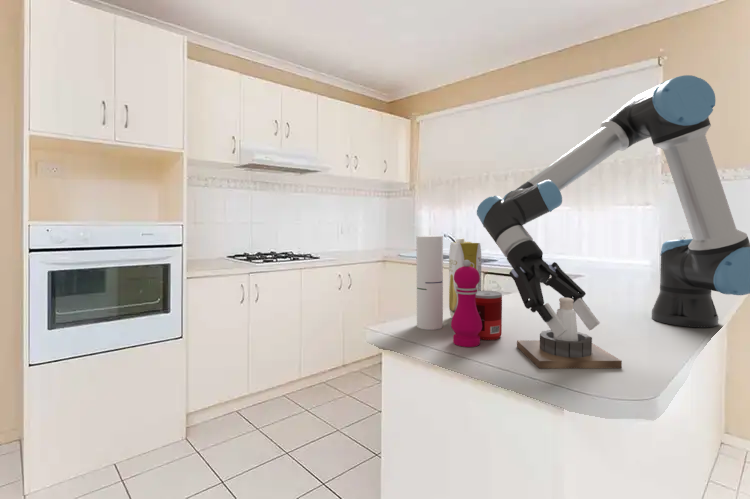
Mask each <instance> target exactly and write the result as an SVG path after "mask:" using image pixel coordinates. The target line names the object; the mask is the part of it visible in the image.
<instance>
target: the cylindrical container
mask: <svg viewBox="0 0 750 499" xmlns="http://www.w3.org/2000/svg"><path fill="white" fill-rule="evenodd" d="M443 281H444V236H443V235H431V234H430V235H416V328H418V329H421V330H430V331H431V330H432V331H433V330H434V331H435V330H440V329H442V328H443V327H444V324H443V323H444V319H443V318H444V303H443V302H444V296H443V295H444V282H443Z"/></svg>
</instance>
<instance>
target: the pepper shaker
mask: <svg viewBox="0 0 750 499" xmlns="http://www.w3.org/2000/svg"><path fill="white" fill-rule="evenodd" d="M558 300H559V308H557V310H556V312H555V313H556V315H557V316H558V318H559V319H560V320H561V322H562V323H563V325H564V326H565V327H566V329H567V331H566V332H564V333H563V334H562V335H561V336H560V337H557V338H556V336H555V335H554V336H553V339H557V340H564V341H578V334H577V332H578V323H577V315H576V314H577V313H576V312H575V310H574V309H573V302H574V300H573V299H571V298H565V297H561V298H559V299H558Z"/></svg>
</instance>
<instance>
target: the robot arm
mask: <svg viewBox="0 0 750 499" xmlns="http://www.w3.org/2000/svg"><path fill="white" fill-rule="evenodd" d="M716 100H717V99H716V93H715V91H714V89H713V88H712V86H711V84H709V83H708V82H707V81H706V80H705V79H703V78H701V77H698V76H695V75H689V74H684V75H680V76H676V77H673V78H670V79H667V80H665V81H663V82H661V83H660V84H657V85H656V86H654V87H652V88H650V89H648V90H646V91H643V92H641V93H639V94H637V95H636V96H635V97H633V98H632V99H630V100H629V101H628V102H626V103H625V104H624V105H623V106H621V108H620V109H618V110H617V111H616V112H615V113H613V114H612V115H611V116H609V117H607V119H606V120H604V121H602V122H601V124H600V129H598V130H597V131H595V132H593V134H591V135H590V136H588V137H587V138H586V139H584V140H583V141H581V142H580V143H579V144H577V145H576V146H575V147H573V148H571V149H570V150H569V151H568V152H566V153H565V154H562V156H560V157H558V159H556V160H554V161H553V162H552V163H551V164H549V165H548V166H546V167H545V168H543V169H542V170H541V171H539V172H538V173H537V174H535V175H534V176H532V177H531V178H530V179H529V180H528V179H527V181H526V182H524V183H523V184H521V185H520V186H519V187H516V189H514V190H510V191H509V192H508V193H506V194H505V195H504V196H503V198H502V197H501V196H500V195H493V196H488V197H486V198H484V199H483V200H482V201H481V202H480V203H479V205H478V206H477V209H476V216H477V217H478V219H479V221H480V222H481V225H482V226H483V228H485V230H486V232H488V234H489V235H490V237H491V238H492V240H493V241H494V243H495V244H496V246H497V247H498V248H499V250H500V251H501V254H503V255H504V257H505V258H506V261H507V262H508V263H509V265H510V266H511V268H512V269H511V270H510V271H509V273H508V274H509V276H510V277H511V278H512V280H513V281H514V283H515V286H516V288H517V290H518V293H519V296H520V297H521V298H520V299H521V300H522V303H523V305H524V307H525V308H526V309H527V310H530V312H531V313H536V312H537V313H538V315H539V316H540V318H541V319H542V320H543V322H544V323H546V325H547V326H548V328H549V330H551V331H552V332H553V333H554V335H555V336H556V338H557V337H560V336H561V335H562V334H563V333H564V332H566V331H567V329H566V327H565V326H564V325H563V323H562V322H561V320H560V319H559V318H558V316H557V315H556V313H557V312H555V310H554V309H553V307H552V306H551V305H550V304H549V302H547V303H545V300H544V296H543V295H544V294H543V291H542V287H541V283H542V284H544V285H545V286H548V287H551V288H552V289H553V290H554V291H556V292H557V293H558V294H560V295H561V296H562V298H571V299H573V300H574V302H573V310H575V313H576V314H577V315H576V316H578V318H579V319H580V320H581V321H582V323H583V325H585V327H586V328H587V330H589V331H592V330H593V329H594V328H596V327H597V326H599V325H600V324H601V322H600V321H599V320H598V318H597V316H595V314H594V313H593V312H592V310H591V309H590V307H589V306H588V305H587V303H586V302H585V301H584V300H583V298H584V296H586V291H585V290H584V289H582V287H580V286H579V285H578V284H577V283H576V282H575V281H574V280H573V279H572V278H571V277H570V276H569V275H568V274H567V273H565V271H564V270H562V269H561V267H560V266H559V264H558V263H557V262H555V261H554V262H552V264H548V263H547V262H546V261H545V260H544V259H543V254H544V253H543V250H542V249H541V247H539V245H538V243H537V242H536V241H535V240H534V239H533V237H532V236H531V235H530V233H529V232H528V231H527V229H526V228H525V227H524V225H526V224H527V223H529V222H532V221H533V220H536V219H537V218H540V217H542V216H544V215H546V214H548V213H551V212H552V211H553V210H554V211H555V209H557V208H559V207H560V206H561V205H562V203H563V196H562V192H561V191H562V190H564V189H565V188H567V187H568V186H570V184H572V183H573V182H575V181H577V180H578V179H579V178H581V177H582V176H583V175H585V174H586V173H588V172H589V171H591V170H592V169H593V168H595V167H596V166H598V165H600V164H601V163H602V162H604V161H605V160H606V159H608V158H609V157H610V156H612V155H613V154H615V153H616V152H618V151H621V152H622V151H626V150H628V148H631V146H633V145H635V144H636V143H637V144H638V143H639V142H641V141H643V140H647V139H649V138H650V139H651V142H652V144H653V146H654V147H657V148H659V149H661V150H662V151H663V153H664V157H665V160H666V163H667V166H668V169H669V171H670V174H671V178H672V181H673V183H674V186H675V190H676V193H677V194H678V195H677V196H678V198H679V201H680V203H681V206H682V209H683V212H684V216H685V218H686V222H687V224H688V228H689V231H690V233H691V237H692V238H684V239H671V240H666V241H664V242H663V244H662V245H661V250H660V254H659V255H660V271H659V272H660V273H659V274H660V276H659V277H660V278H659V294H658V295H657V298H656V300H655V302H654V304H653V308H652V310H651V319H652V320H654V321H656V322H659V323H662V324H663V323H664V324H667V325H671V326H679V327H687V328H688V327H689V328H714V327H718V326H719V315H718V312H717V308H716V307H715V304H714V301H713V299H712V291H713V292H718V293H720V294H723V295H733V296H745V295H749V294H750V240H749V237H748V234H747V233H746V232H744V231H741V230H739V229H737V226H736V224H735V220H734V217H733V215H732V212H731V209H730V205H729V203H728V200H727V196H726V194H725V191H724V187H723V184H722V181H721V178H720V175H719V172H718V168H717V166H716V164H715V160H714V157H713V153H712V151H711V149H710V145H709V142H708V139H707V136H706V135H707V132H708V131H709V130H710V129H711V127H712V124H711V120H710V115H711V114H712V113H713V111H714V107H715V106H716Z"/></svg>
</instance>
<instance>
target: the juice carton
mask: <svg viewBox="0 0 750 499" xmlns="http://www.w3.org/2000/svg"><path fill="white" fill-rule="evenodd" d="M481 246H482V245H481V243H480V242H472V241H465V238H464V237H460V238H455V241H452V242H450V246H449V254H448V256H449V257H448V258H449V259H448V283H449V284H448V292H449V293H448V308H449V309H448V310H449V314H450V317H451V318H453V315H454V313H455V311H456V308H457V305H458V293H456V291H457V290H456V287H457V284H456V283H455V281H454V274H455V271H456V270H457V269H458V268H460V267H463V266H464V265H463V262H464V261H465V260H469V261H470V262H471V265H470V267H473V268H475V269H476V270H477V271H478V272H479V275H480V281H479V283H478V284H477V285H476V287H477V288H478V289H477V291H482V248H481Z"/></svg>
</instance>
